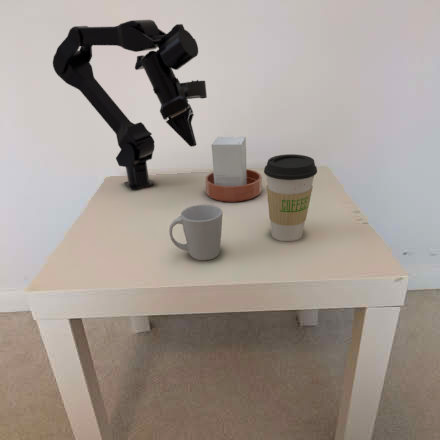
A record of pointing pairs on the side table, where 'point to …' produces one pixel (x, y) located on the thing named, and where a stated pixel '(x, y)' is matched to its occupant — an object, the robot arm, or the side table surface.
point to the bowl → (235, 188)
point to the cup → (200, 231)
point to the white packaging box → (229, 161)
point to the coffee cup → (289, 194)
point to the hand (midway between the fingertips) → (193, 145)
